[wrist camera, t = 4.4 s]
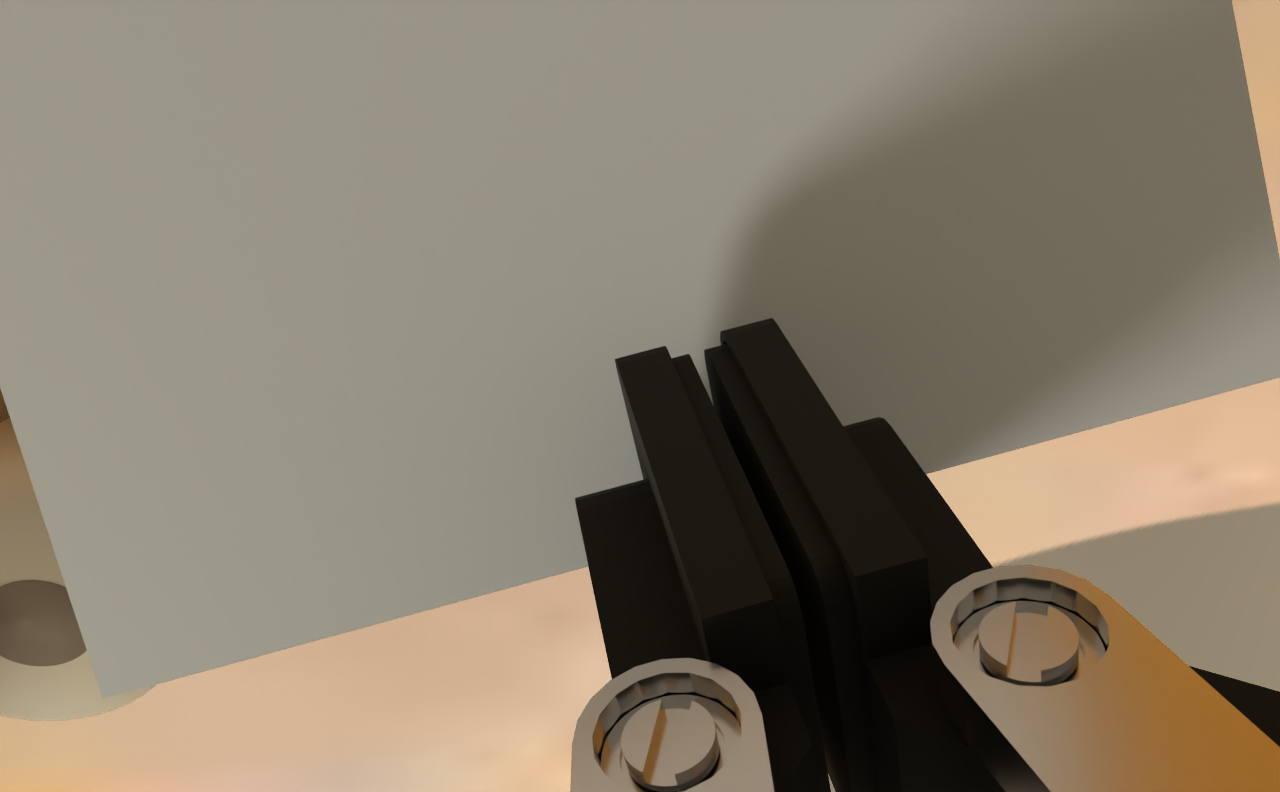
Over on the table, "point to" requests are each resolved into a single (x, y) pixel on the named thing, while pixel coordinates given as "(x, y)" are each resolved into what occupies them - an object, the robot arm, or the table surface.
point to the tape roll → (38, 612)
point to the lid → (569, 267)
